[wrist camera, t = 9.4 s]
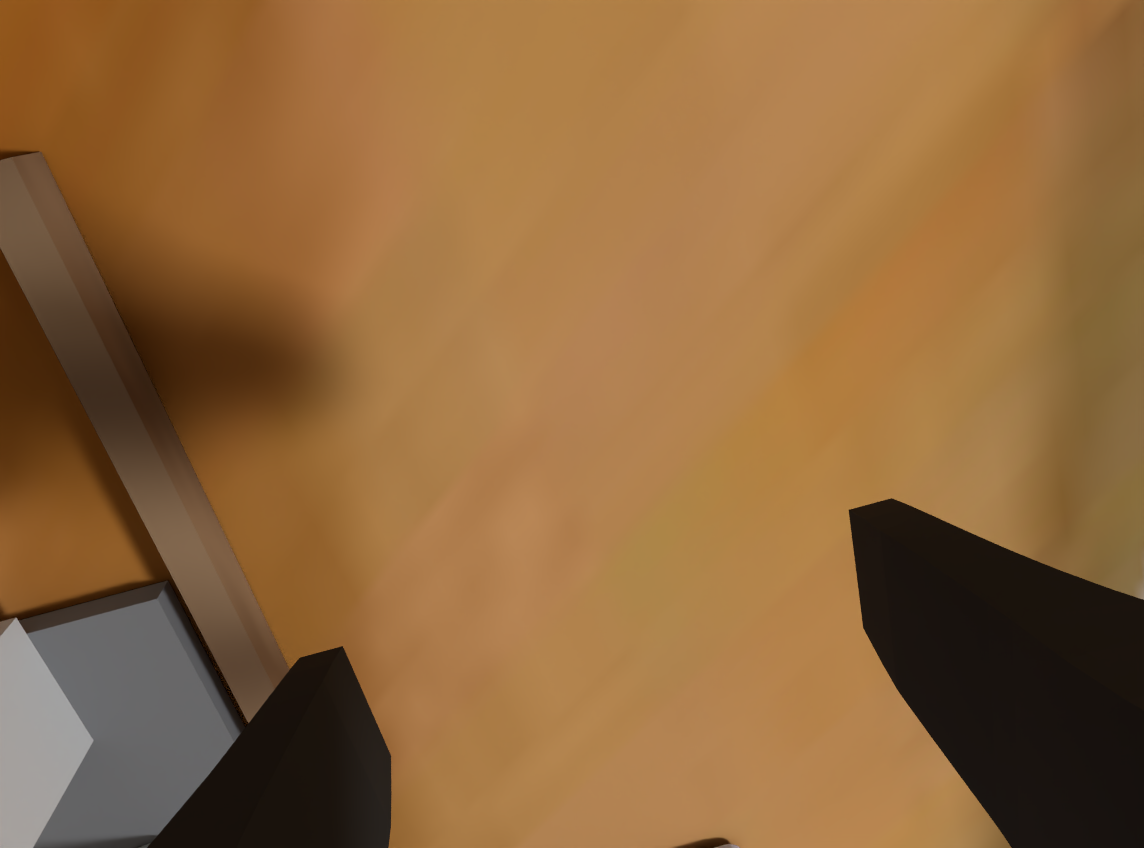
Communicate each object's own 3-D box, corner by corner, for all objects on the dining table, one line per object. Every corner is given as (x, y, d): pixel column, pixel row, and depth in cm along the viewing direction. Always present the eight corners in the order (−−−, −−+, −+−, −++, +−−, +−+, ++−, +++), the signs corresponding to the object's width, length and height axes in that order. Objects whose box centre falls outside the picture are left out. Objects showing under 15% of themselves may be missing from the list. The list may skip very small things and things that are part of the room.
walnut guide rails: (429, 962, 27) (428, 999, 26) (54, 1064, 27) (37, 1106, 26) (41, 151, 17) (10, 157, 16) (-565, 312, 17) (-637, 329, 16)
